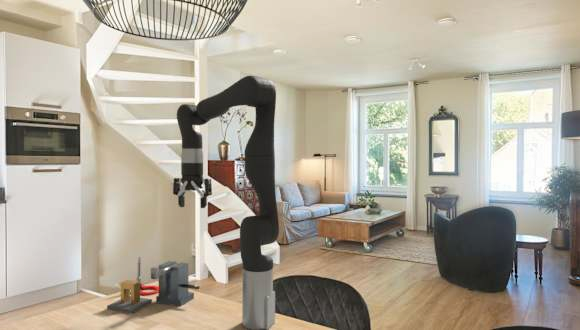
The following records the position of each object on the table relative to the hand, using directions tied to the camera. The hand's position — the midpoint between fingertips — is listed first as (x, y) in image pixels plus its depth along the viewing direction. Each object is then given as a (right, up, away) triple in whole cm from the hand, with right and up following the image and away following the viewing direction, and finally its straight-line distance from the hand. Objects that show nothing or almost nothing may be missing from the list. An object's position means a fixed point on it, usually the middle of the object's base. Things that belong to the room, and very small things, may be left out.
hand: (192, 207), depth 144 cm
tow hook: (-19, -33, +8) cm, 38 cm away
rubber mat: (-19, -33, -7) cm, 39 cm away
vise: (-5, -33, -5) cm, 34 cm away
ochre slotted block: (-19, -31, -7) cm, 37 cm away
